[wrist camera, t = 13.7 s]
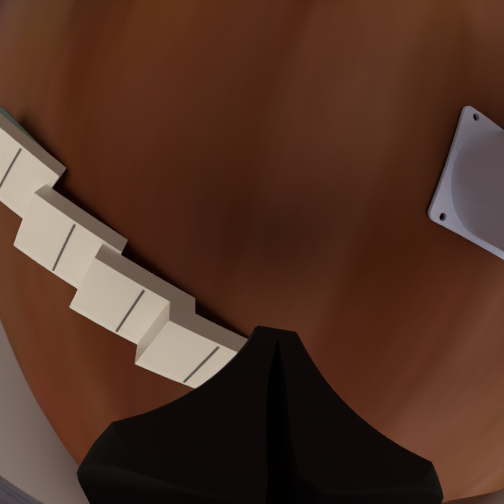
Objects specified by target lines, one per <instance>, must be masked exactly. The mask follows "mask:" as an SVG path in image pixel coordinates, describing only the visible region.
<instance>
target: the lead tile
mask: <svg viewBox="0 0 504 504" xmlns="http://www.w3.org/2000/svg"><path fill="white" fill-rule="evenodd" d="M247 340H248V339H246V338H244V337H242V336H240V335H238V334H236V333H234V332H232V331H229V330H227V329H225V328H223V327H221V326H219V325H217V324H215V323H213V322H211V321H209V320H207V319H205V318H203V317H201V316H199V315H197V314H195V313H193V312H191V311H189V310H187V309H185V308H183V307H181V306H179V305H177V304H175V303H173V302H172V301H170V302H169V303H168V304H167V306H166V307H165V308H164V309H163V311H162V312H161V313H160V315H159V316H158V317H157V319H156V320H155V321H154V323H153V324H152V325H151V327H150V328H149V329H148V331H147V332H146V333H145V335H144V336H143V337H142V339H141V340H140V341H139V343H138V344H137V352H136V359H135V364H136V365H139V366H141V367H143V368H146V369H148V370H150V371H153V372H155V373H157V374H160V375H162V376H165V377H167V378H170V379H172V380H175V381H177V382H180V383H183V384H185V385H188V386H190V387H193V388H197V387H198V386H200V385H201V384H203V383H204V382H206V381H207V380H208V379H210V378H211V377H212V376H213V375H215V374H216V373H217V372H218V371H219V370H221V369H222V368H223V367H224V366H225V365H226V364H227V363H228V362H229V361H230V360H231V359H232V358H233V357H234V356H235V355H236V354H237V353H238V351H239V350H240V349H241V348H242V347H243V346H244V344H245V343H246V342H247Z"/></svg>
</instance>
